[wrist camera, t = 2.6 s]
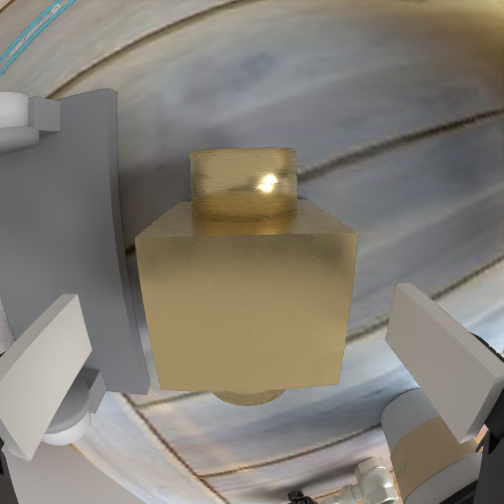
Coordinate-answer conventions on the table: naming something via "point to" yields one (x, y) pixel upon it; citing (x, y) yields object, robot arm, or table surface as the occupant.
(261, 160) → the brass gate valve
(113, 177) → the pipe run plate
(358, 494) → the valve
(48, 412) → the robot arm
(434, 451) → the coffee cup
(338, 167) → the table surface
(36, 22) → the adjustable wrench
